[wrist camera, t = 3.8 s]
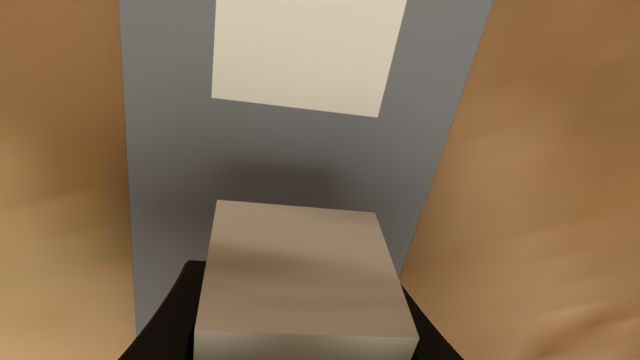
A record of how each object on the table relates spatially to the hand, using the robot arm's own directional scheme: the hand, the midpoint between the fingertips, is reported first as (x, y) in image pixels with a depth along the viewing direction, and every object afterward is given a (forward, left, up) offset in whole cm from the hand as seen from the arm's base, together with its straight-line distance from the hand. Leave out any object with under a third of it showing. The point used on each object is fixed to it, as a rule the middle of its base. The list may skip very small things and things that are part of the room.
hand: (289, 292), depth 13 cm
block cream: (0, 0, -1) cm, 1 cm away
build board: (0, 0, -5) cm, 5 cm away
